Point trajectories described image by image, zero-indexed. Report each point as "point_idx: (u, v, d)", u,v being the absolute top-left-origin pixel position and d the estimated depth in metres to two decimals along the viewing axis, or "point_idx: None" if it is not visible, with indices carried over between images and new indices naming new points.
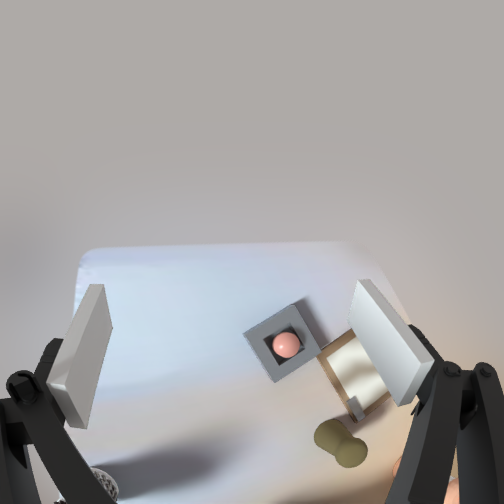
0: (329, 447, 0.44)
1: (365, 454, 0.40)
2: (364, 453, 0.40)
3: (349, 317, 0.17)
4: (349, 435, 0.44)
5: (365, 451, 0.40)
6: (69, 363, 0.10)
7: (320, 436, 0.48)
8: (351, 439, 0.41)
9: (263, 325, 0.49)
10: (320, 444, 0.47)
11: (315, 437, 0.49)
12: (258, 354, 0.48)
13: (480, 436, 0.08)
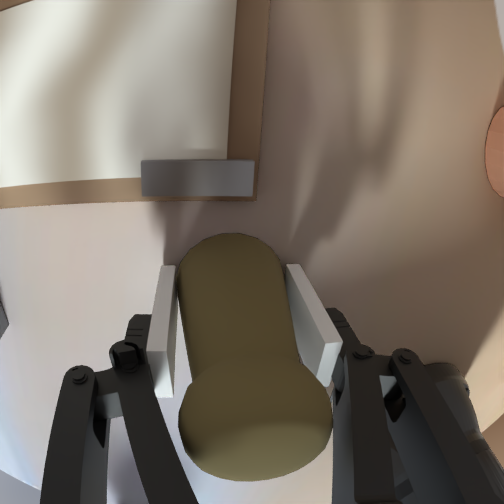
0: None
1: (301, 432, 0.08)
2: (290, 436, 0.08)
3: None
4: (210, 337, 0.11)
5: (283, 431, 0.08)
6: (165, 332, 0.12)
7: None
8: (183, 412, 0.09)
9: None
10: None
11: None
12: None
13: (418, 429, 0.09)
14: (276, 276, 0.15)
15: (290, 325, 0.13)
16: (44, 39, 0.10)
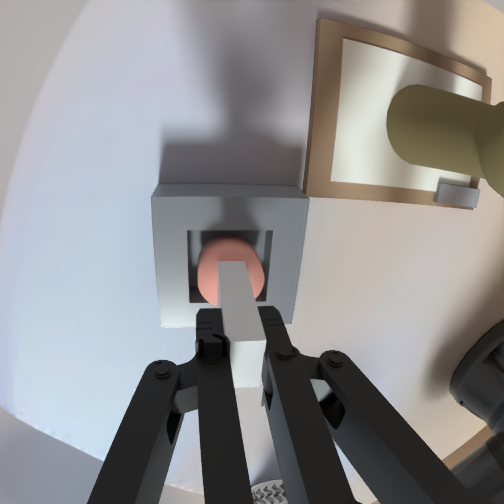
0: (456, 166, 0.15)
1: None
2: None
3: None
4: (473, 105, 0.13)
5: None
6: (240, 323, 0.13)
7: (412, 150, 0.18)
8: (500, 119, 0.10)
9: (160, 287, 0.20)
10: (427, 165, 0.18)
11: (403, 156, 0.20)
12: None
13: (364, 436, 0.09)
14: None
15: None
16: (392, 84, 0.18)
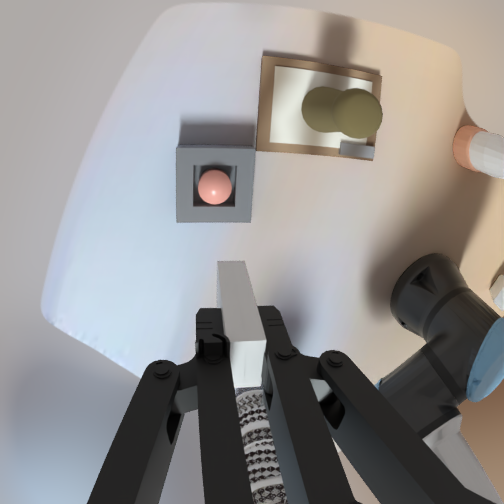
0: (331, 127, 0.32)
1: (374, 101, 0.27)
2: (371, 101, 0.27)
3: None
4: (336, 94, 0.30)
5: (369, 97, 0.26)
6: (240, 323, 0.13)
7: (313, 123, 0.35)
8: (337, 99, 0.28)
9: (177, 197, 0.37)
10: (323, 130, 0.36)
11: (312, 127, 0.37)
12: (206, 220, 0.39)
13: (364, 436, 0.09)
14: None
15: None
16: (305, 88, 0.35)
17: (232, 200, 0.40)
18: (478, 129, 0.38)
